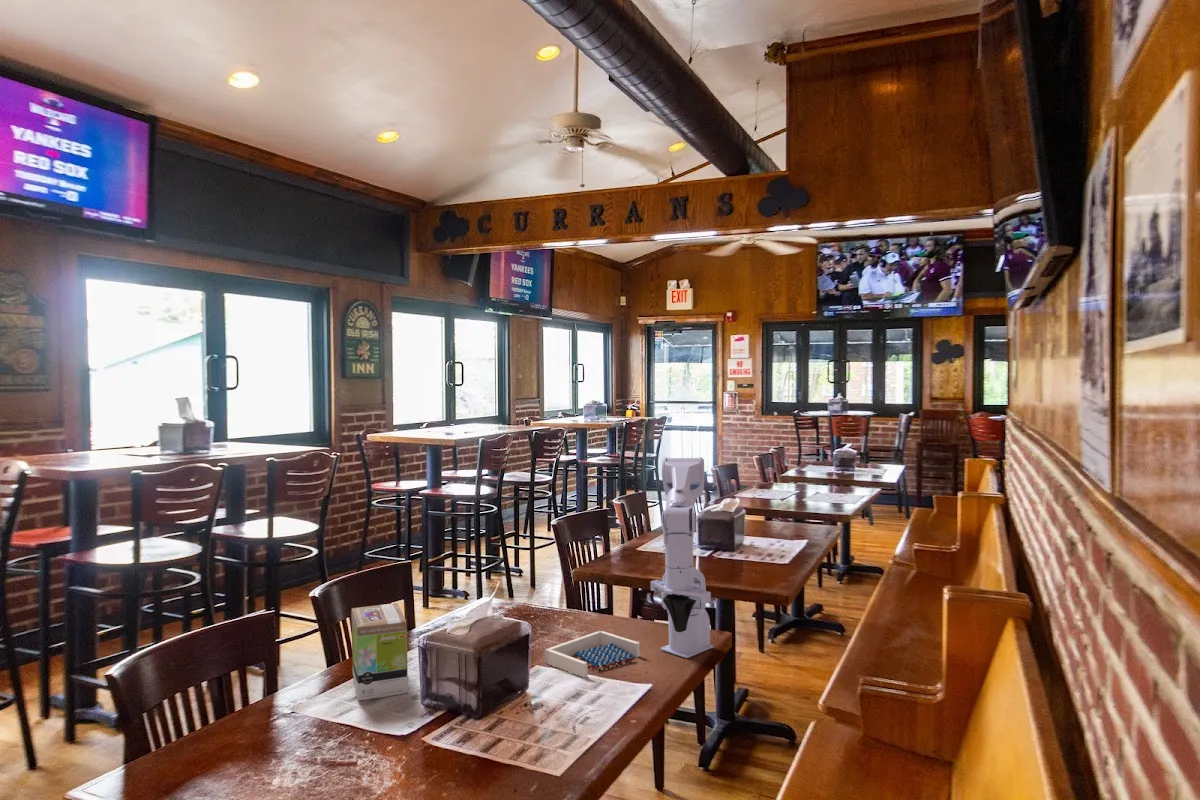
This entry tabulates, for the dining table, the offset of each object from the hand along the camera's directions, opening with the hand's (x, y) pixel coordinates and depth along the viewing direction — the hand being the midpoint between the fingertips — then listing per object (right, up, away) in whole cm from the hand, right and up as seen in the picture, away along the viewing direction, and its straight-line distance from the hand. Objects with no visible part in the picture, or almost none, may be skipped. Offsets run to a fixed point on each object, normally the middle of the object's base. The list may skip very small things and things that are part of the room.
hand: (680, 630), depth 161 cm
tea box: (-62, -11, 0) cm, 63 cm away
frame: (-18, -9, +11) cm, 23 cm away
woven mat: (-16, -10, +10) cm, 22 cm away
